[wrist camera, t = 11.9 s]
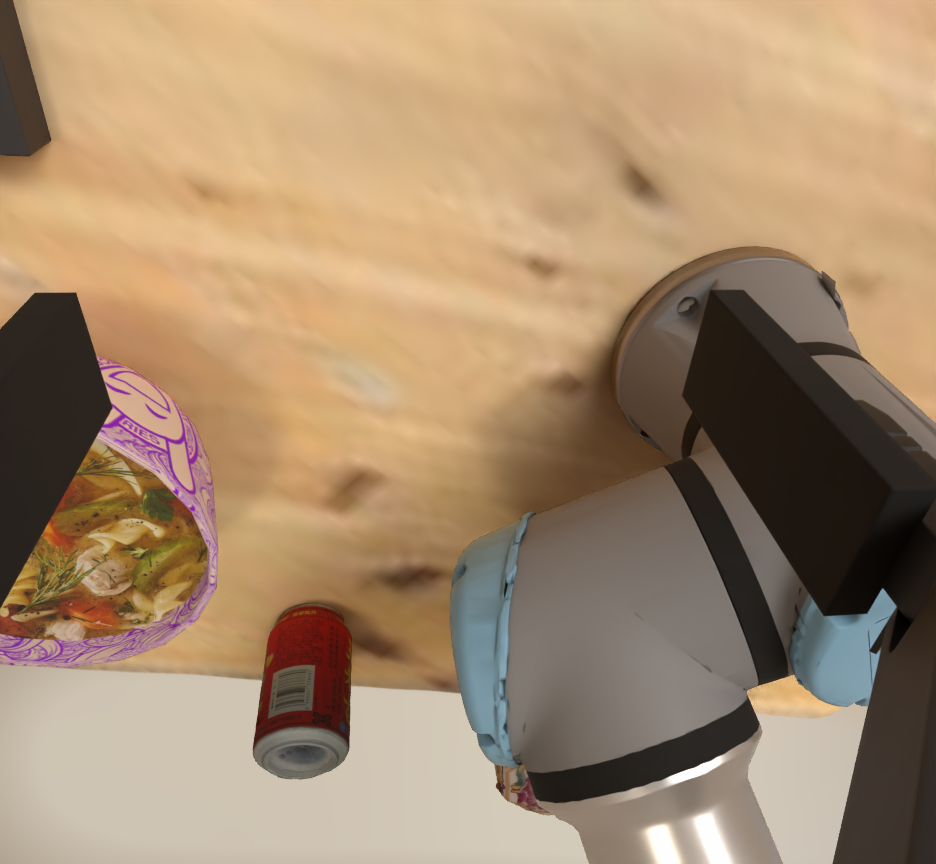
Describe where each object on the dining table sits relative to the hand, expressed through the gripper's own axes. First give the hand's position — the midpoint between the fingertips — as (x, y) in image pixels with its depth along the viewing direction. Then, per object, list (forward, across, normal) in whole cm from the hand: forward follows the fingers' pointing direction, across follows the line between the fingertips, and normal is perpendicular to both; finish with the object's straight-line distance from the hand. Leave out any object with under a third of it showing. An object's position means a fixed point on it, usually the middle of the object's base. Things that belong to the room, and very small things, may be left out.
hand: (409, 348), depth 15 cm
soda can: (+27, -8, -42) cm, 51 cm away
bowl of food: (+26, -20, -20) cm, 38 cm away
